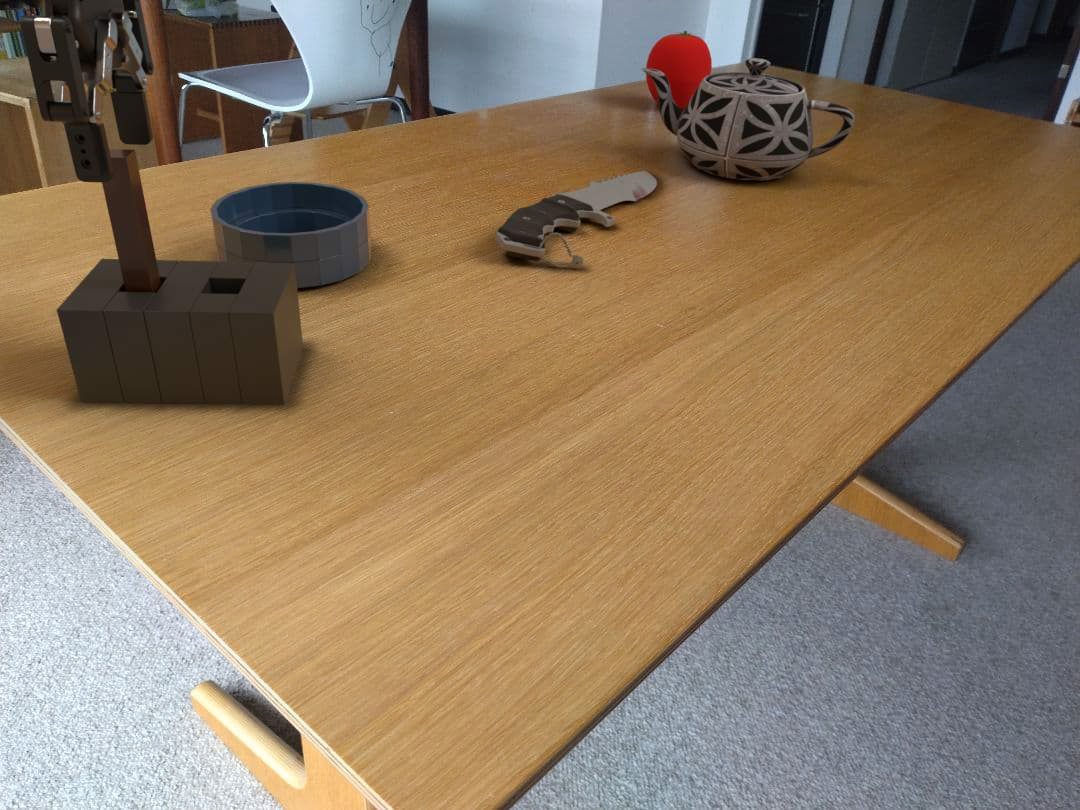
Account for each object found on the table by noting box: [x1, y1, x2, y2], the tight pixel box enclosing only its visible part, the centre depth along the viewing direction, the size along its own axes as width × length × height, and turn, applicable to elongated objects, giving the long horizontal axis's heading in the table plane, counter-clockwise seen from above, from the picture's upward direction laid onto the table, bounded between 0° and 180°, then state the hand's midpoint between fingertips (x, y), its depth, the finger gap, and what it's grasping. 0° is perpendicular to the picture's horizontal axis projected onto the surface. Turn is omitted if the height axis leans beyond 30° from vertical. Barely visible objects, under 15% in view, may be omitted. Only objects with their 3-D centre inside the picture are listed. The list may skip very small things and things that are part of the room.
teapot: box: [640, 57, 856, 182], centre depth 124 cm, size 19×31×15 cm, turn 68°
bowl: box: [209, 181, 372, 289], centre depth 89 cm, size 15×15×6 cm
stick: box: [101, 148, 161, 293], centre depth 66 cm, size 2×2×18 cm
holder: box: [56, 258, 304, 406], centre depth 69 cm, size 15×9×8 cm, turn 94°
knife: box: [494, 170, 658, 270], centre depth 106 cm, size 36×10×4 cm, turn 159°
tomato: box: [645, 30, 713, 110], centre depth 152 cm, size 11×11×13 cm
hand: (118, 161), depth 62 cm, fingers open, 8 cm apart
